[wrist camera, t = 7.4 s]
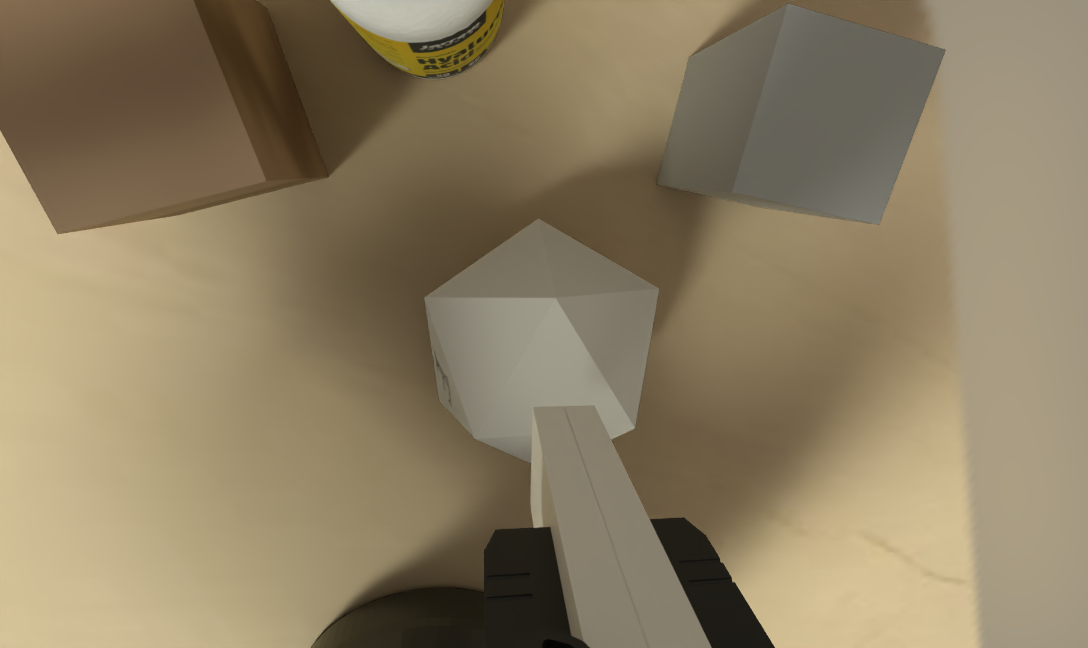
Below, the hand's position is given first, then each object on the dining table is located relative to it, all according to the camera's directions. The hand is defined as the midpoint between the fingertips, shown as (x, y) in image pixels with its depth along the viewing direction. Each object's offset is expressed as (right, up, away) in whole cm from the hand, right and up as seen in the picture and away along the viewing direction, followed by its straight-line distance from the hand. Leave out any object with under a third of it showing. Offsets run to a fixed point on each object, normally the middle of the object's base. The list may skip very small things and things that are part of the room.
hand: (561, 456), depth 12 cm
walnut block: (-13, +11, +7) cm, 18 cm away
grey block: (+7, +11, +9) cm, 16 cm away
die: (-1, +3, +11) cm, 11 cm away
